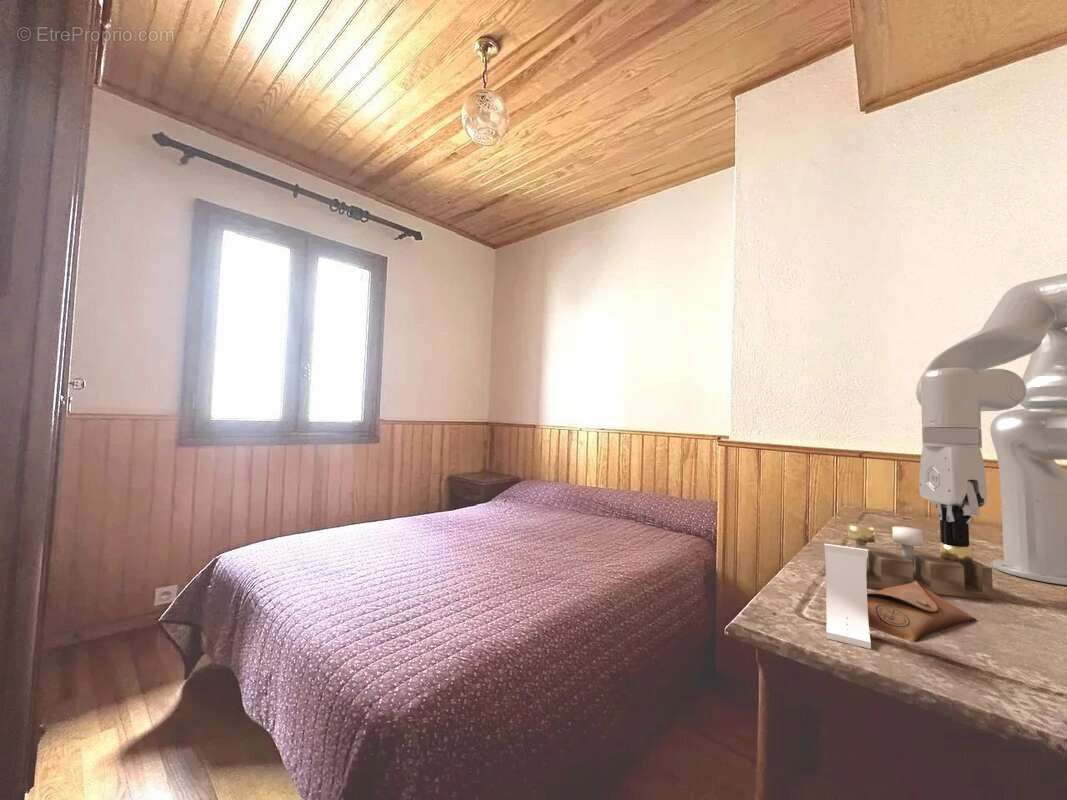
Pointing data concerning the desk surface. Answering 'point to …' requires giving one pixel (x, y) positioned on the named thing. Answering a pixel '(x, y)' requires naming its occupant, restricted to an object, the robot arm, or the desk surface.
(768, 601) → the desk surface
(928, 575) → the tan mount
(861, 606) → the headphone stand
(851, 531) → the brass knob
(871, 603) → the sunglasses case
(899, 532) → the white knob
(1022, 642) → the desk surface
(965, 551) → the brass knob
